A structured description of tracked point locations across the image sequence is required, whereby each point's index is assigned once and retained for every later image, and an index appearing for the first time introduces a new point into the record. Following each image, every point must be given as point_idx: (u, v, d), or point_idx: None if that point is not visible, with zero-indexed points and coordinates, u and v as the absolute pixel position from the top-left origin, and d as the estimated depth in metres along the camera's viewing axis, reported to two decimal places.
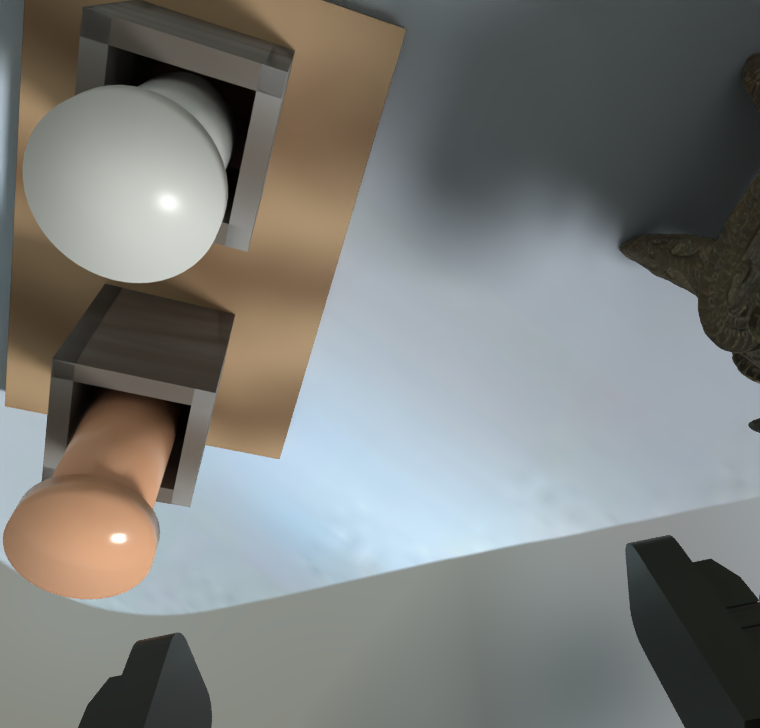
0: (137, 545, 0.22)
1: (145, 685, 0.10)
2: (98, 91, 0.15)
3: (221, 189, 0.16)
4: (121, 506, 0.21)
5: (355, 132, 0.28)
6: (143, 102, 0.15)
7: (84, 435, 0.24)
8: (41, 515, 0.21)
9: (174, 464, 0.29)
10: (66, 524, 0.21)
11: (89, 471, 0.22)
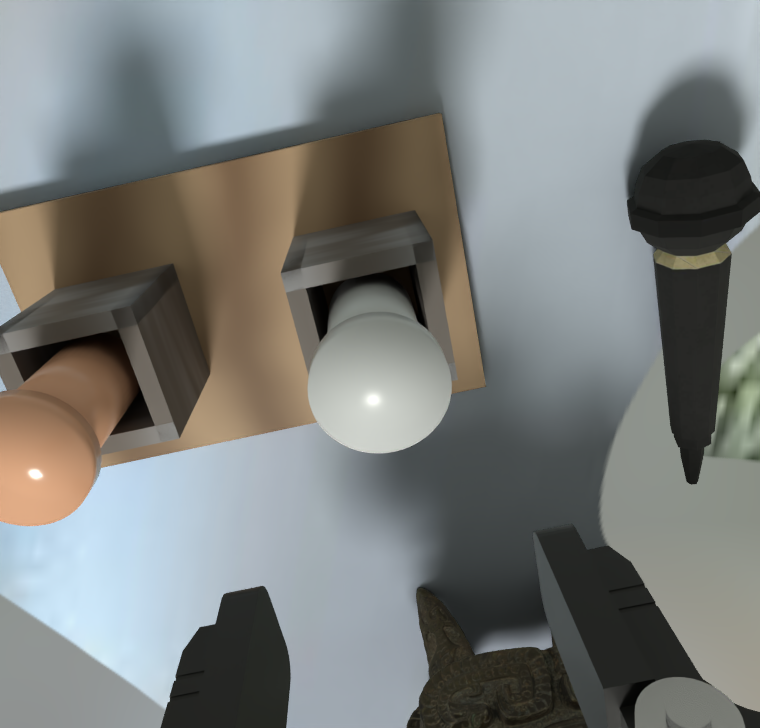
0: (56, 506, 0.22)
1: (240, 630, 0.11)
2: (440, 351, 0.21)
3: (414, 443, 0.22)
4: (92, 479, 0.22)
5: None
6: (447, 379, 0.21)
7: (89, 377, 0.25)
8: (39, 426, 0.21)
9: None
10: (42, 447, 0.21)
11: None
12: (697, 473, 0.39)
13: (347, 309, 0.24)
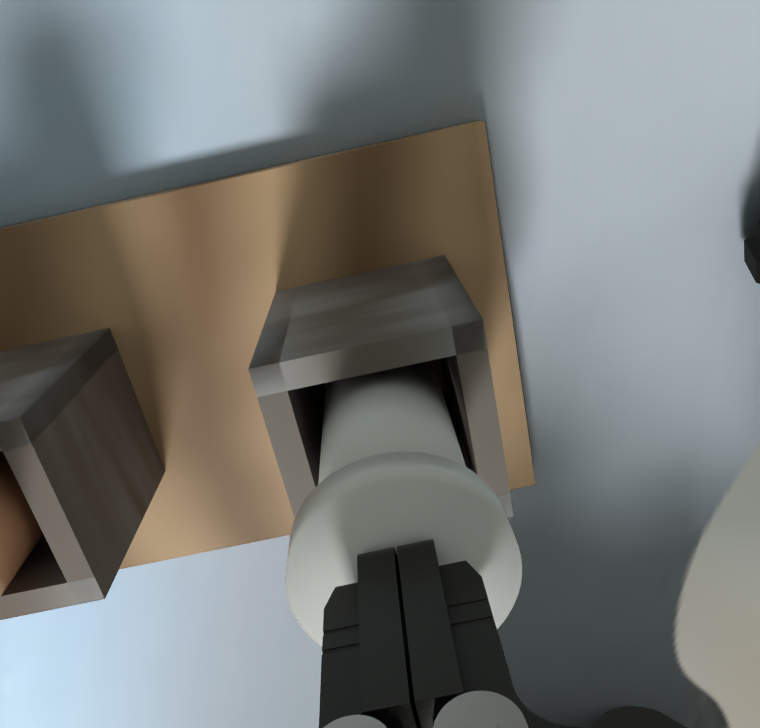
0: None
1: (385, 587, 0.11)
2: (506, 522, 0.13)
3: None
4: None
5: None
6: (516, 563, 0.13)
7: None
8: None
9: None
10: None
11: None
12: None
13: (351, 422, 0.16)
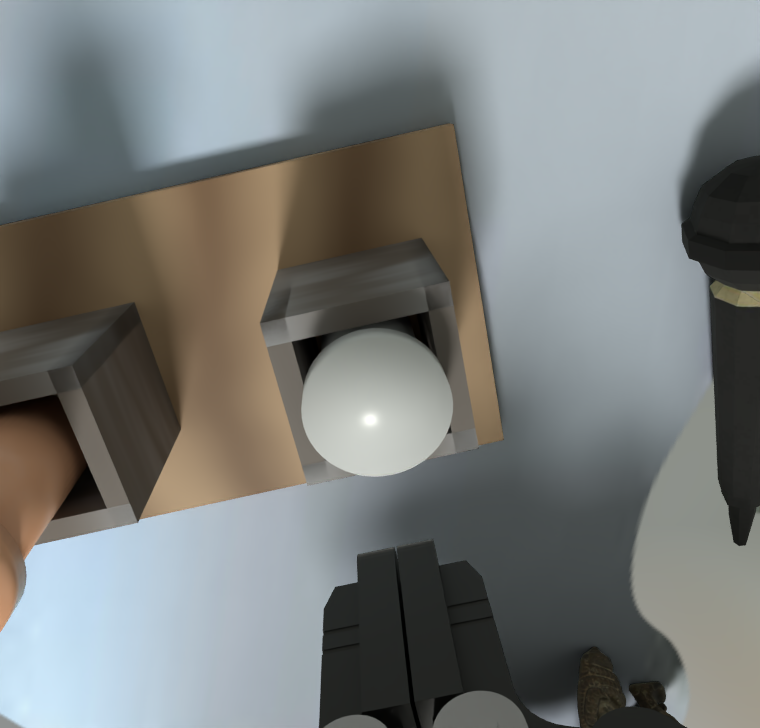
0: None
1: (385, 587, 0.11)
2: (441, 369, 0.20)
3: (414, 465, 0.21)
4: (10, 605, 0.17)
5: None
6: (448, 398, 0.20)
7: (17, 460, 0.20)
8: None
9: None
10: None
11: (5, 523, 0.18)
12: (747, 534, 0.34)
13: None
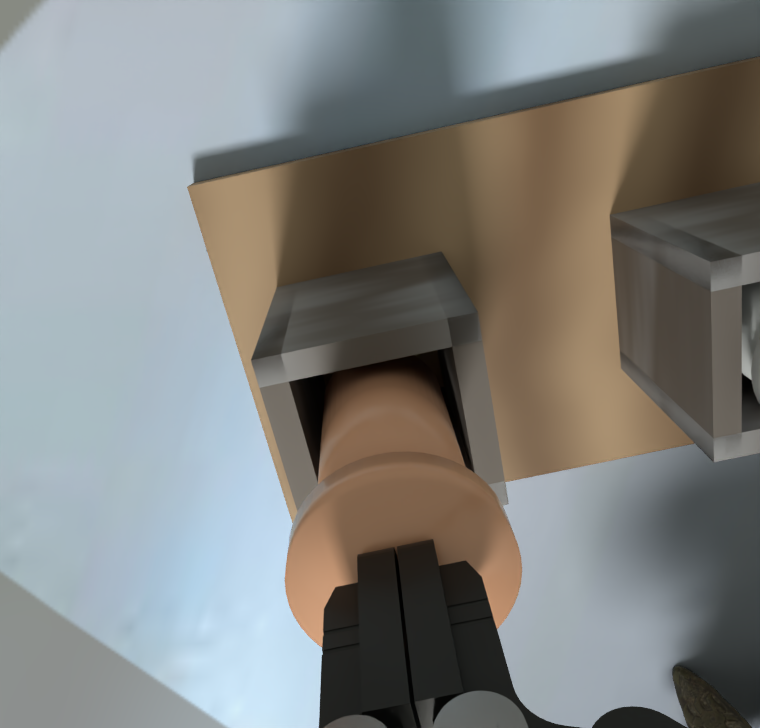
0: None
1: (386, 587, 0.11)
2: None
3: None
4: (513, 598, 0.13)
5: None
6: None
7: (438, 421, 0.16)
8: (456, 516, 0.12)
9: None
10: (450, 550, 0.13)
11: None
12: None
13: None
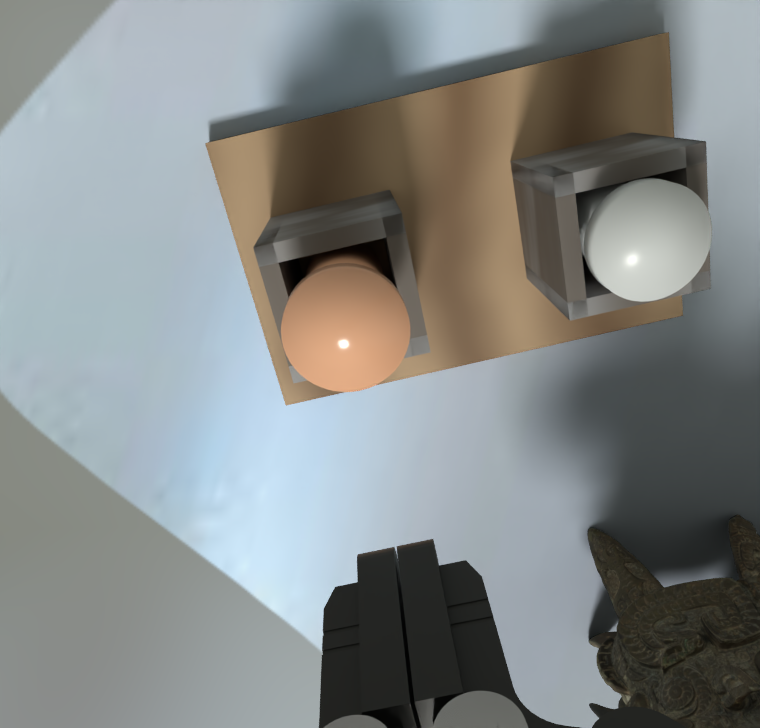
0: (373, 372, 0.24)
1: (386, 587, 0.11)
2: (706, 208, 0.25)
3: (673, 292, 0.26)
4: (407, 346, 0.24)
5: (602, 319, 0.36)
6: (708, 233, 0.25)
7: (372, 266, 0.27)
8: (372, 292, 0.23)
9: None
10: (370, 313, 0.24)
11: None
12: None
13: (595, 190, 0.28)
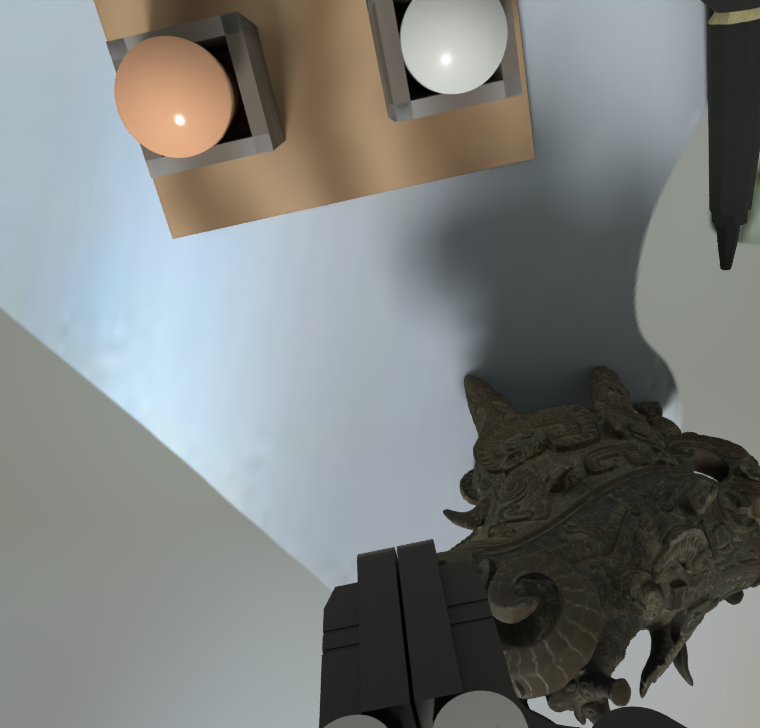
0: (200, 139, 0.28)
1: (386, 587, 0.11)
2: (500, 3, 0.28)
3: (478, 85, 0.30)
4: (229, 114, 0.27)
5: (460, 160, 0.39)
6: (504, 28, 0.29)
7: None
8: (192, 59, 0.27)
9: None
10: (192, 80, 0.27)
11: None
12: (731, 257, 0.42)
13: None
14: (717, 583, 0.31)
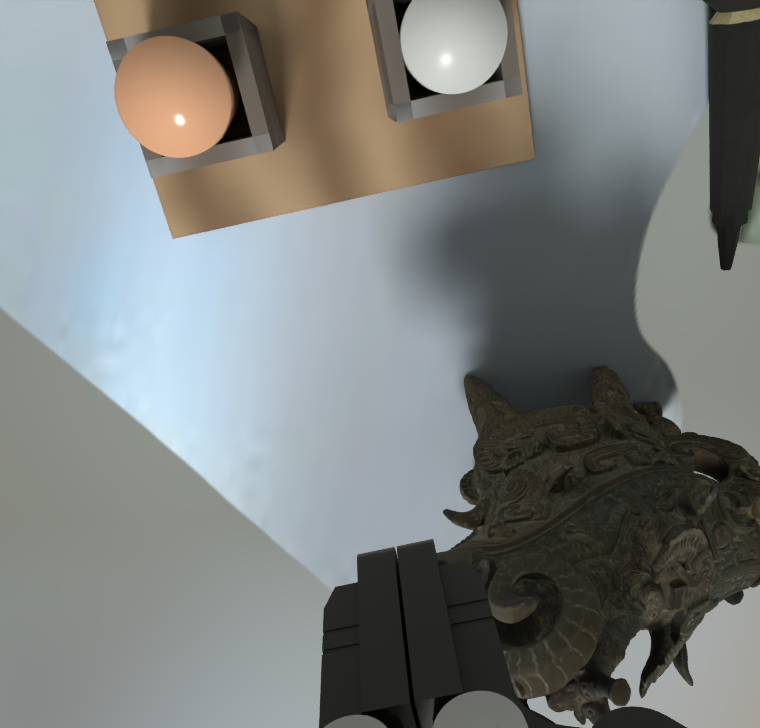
0: (200, 139, 0.28)
1: (386, 587, 0.11)
2: (500, 3, 0.28)
3: (478, 85, 0.30)
4: (229, 114, 0.27)
5: (460, 160, 0.39)
6: (504, 28, 0.29)
7: None
8: (192, 59, 0.27)
9: None
10: (192, 80, 0.27)
11: None
12: (732, 257, 0.42)
13: None
14: (717, 583, 0.31)
